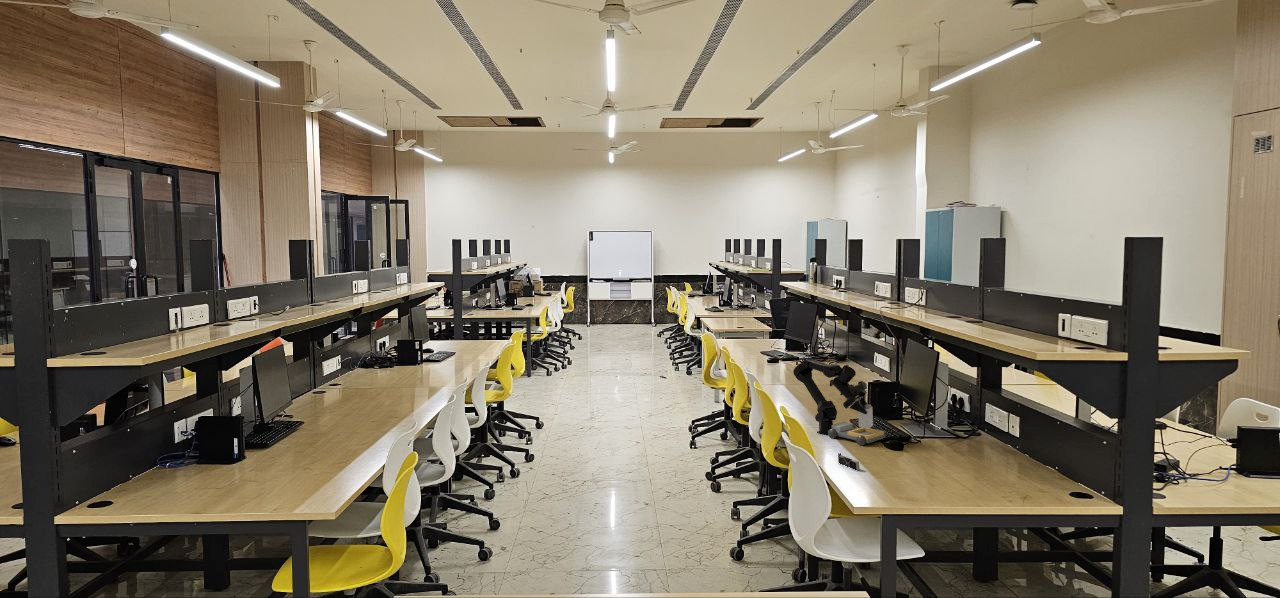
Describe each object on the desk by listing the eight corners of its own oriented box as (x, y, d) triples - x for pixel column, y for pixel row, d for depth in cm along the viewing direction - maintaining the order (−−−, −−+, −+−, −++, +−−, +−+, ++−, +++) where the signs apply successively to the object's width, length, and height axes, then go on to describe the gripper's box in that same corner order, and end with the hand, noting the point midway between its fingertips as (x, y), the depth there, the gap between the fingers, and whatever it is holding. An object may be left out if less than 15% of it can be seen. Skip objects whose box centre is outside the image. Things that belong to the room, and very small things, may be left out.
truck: (826, 437, 338) (826, 426, 337) (848, 431, 346) (847, 420, 345) (865, 446, 318) (864, 434, 318) (887, 440, 326) (886, 428, 326)
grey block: (858, 427, 327) (858, 405, 326) (862, 424, 331) (861, 403, 330) (869, 428, 324) (868, 406, 323) (872, 425, 328) (872, 404, 327)
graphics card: (838, 465, 297) (835, 454, 296) (842, 462, 298) (839, 451, 297) (856, 472, 286) (853, 461, 285) (861, 469, 287) (858, 458, 286)
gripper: (848, 380, 320) (874, 405, 315) (862, 372, 335) (886, 397, 330) (832, 395, 325) (857, 421, 320) (846, 388, 340) (870, 412, 335)
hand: (868, 412), depth 326 cm, fingers closed on grey block, 5 cm apart
